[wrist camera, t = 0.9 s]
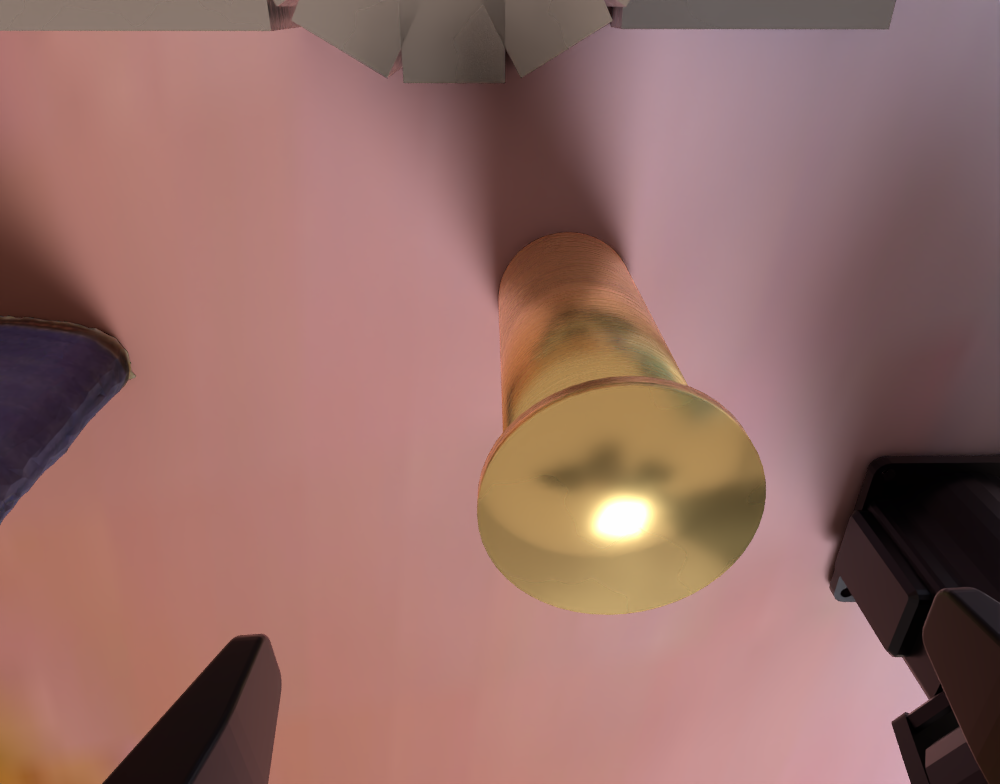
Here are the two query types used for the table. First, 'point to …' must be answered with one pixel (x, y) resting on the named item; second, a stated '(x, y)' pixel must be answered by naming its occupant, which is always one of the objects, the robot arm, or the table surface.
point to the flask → (49, 394)
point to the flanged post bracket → (443, 25)
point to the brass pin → (606, 445)
